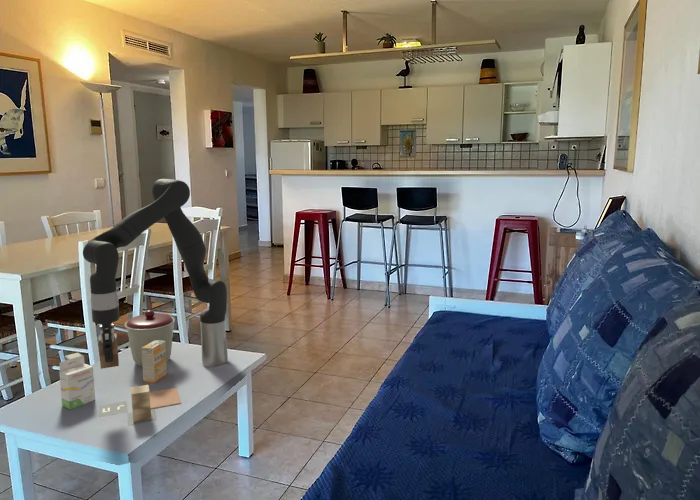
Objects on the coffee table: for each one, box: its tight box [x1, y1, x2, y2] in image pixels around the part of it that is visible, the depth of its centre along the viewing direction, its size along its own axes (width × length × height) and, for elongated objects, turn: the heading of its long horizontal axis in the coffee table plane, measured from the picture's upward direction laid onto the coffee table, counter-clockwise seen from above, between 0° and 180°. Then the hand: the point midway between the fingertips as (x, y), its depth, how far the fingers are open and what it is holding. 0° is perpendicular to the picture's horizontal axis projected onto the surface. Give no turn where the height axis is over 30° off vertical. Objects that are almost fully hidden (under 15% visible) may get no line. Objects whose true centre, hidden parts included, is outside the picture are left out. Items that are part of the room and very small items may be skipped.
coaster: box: [149, 387, 182, 409], centre depth 166 cm, size 12×12×1 cm
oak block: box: [130, 384, 151, 422], centre depth 154 cm, size 5×5×9 cm
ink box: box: [58, 354, 96, 410], centre depth 162 cm, size 9×5×15 cm, turn 148°
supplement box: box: [141, 340, 168, 384], centre depth 181 cm, size 8×5×13 cm, turn 168°
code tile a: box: [98, 400, 128, 418], centre depth 159 cm, size 8×8×1 cm
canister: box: [124, 309, 176, 367], centre depth 194 cm, size 18×18×21 cm
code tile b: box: [126, 408, 158, 426], centre depth 154 cm, size 8×8×1 cm
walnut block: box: [97, 332, 120, 369], centre depth 156 cm, size 5×5×9 cm
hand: (109, 358), depth 156 cm, fingers closed on walnut block, 5 cm apart
